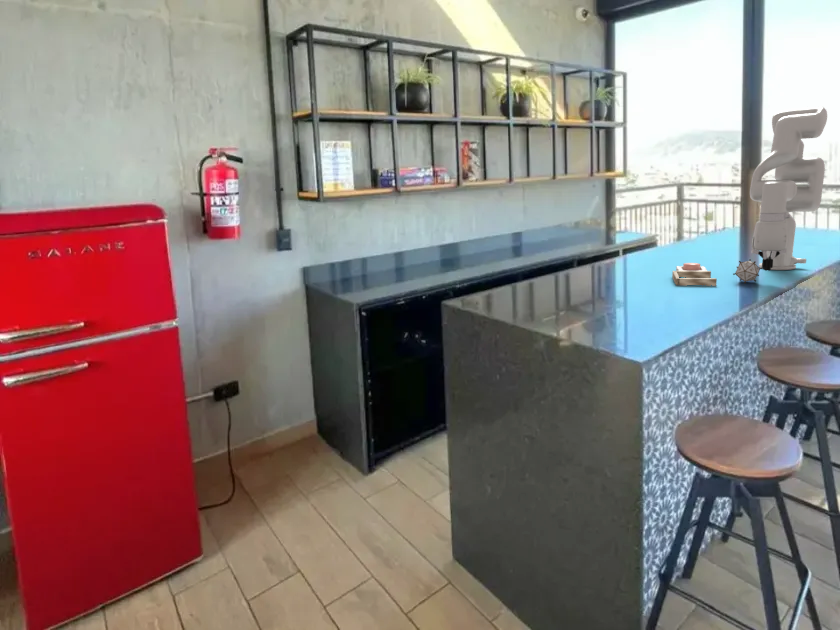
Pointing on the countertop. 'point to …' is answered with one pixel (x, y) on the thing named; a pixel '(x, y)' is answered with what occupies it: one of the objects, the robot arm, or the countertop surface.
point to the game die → (747, 271)
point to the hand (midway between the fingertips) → (766, 269)
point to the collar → (680, 268)
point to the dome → (691, 266)
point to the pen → (694, 278)
